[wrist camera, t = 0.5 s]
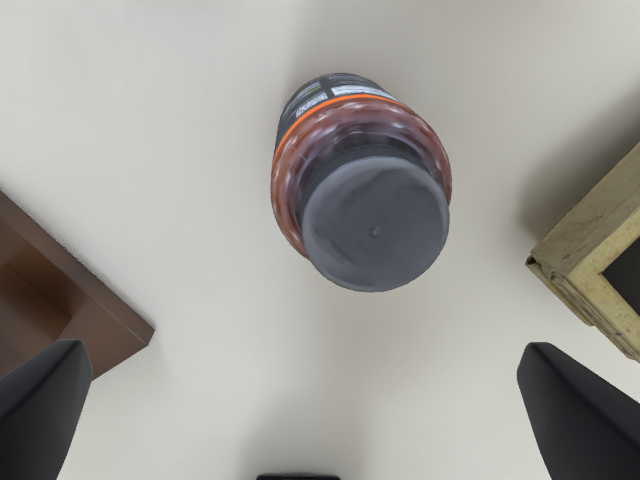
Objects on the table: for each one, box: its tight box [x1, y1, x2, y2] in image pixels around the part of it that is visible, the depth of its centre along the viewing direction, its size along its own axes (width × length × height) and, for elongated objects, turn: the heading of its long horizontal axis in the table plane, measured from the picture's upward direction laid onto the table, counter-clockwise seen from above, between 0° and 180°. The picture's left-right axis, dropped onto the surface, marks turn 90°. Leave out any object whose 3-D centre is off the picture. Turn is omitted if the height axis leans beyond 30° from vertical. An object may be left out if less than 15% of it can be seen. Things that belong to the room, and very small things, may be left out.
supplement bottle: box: [271, 73, 452, 292], centre depth 17 cm, size 6×6×11 cm
